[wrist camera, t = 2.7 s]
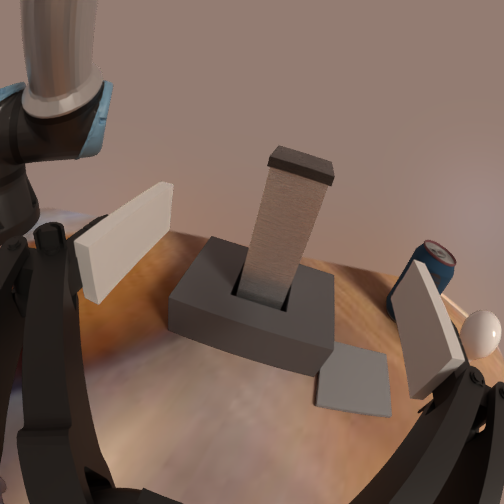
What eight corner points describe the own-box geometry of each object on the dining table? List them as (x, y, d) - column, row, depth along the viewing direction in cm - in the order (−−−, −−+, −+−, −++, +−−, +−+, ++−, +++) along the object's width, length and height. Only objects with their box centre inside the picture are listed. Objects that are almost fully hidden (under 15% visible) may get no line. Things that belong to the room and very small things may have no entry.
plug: (226, 325, 30) (269, 156, 20) (238, 296, 34) (278, 145, 24) (269, 338, 30) (334, 176, 19) (277, 309, 34) (331, 162, 24)
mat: (315, 405, 24) (316, 404, 23) (321, 340, 31) (322, 338, 31) (389, 417, 23) (391, 416, 23) (384, 355, 31) (386, 354, 30)
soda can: (407, 300, 42) (443, 242, 35) (423, 330, 36) (467, 270, 29) (376, 297, 40) (413, 233, 34) (392, 330, 35) (438, 263, 28)
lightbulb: (427, 351, 32) (473, 295, 26) (455, 357, 32) (498, 305, 26) (435, 386, 27) (490, 330, 21) (463, 389, 27) (515, 338, 20)
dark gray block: (168, 330, 28) (168, 297, 25) (206, 266, 38) (211, 236, 35) (313, 377, 27) (334, 350, 24) (319, 303, 37) (333, 274, 34)
